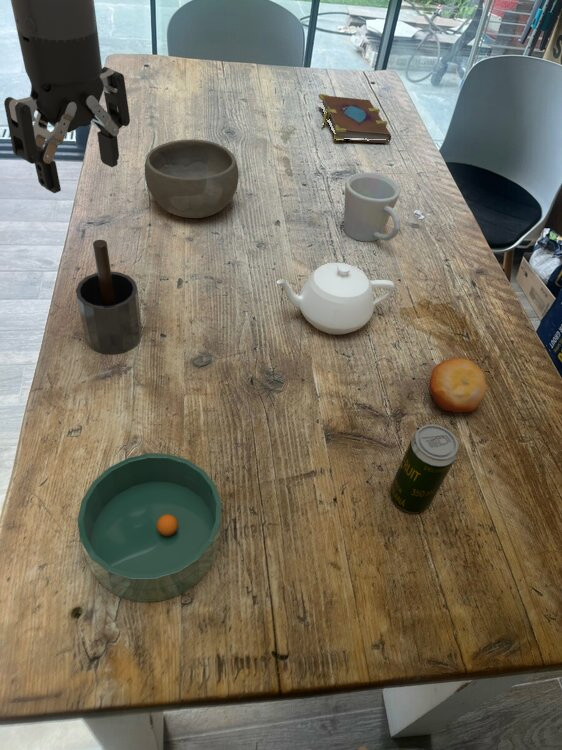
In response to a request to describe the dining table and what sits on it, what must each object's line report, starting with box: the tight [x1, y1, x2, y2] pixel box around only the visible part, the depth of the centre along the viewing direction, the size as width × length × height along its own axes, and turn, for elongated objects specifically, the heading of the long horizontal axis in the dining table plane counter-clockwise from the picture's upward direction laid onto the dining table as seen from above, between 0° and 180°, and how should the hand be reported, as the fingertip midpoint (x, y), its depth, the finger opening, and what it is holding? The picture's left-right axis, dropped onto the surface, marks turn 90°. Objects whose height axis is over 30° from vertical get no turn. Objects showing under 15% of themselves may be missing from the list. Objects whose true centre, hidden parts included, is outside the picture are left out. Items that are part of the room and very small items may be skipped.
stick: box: [92, 239, 116, 306], centre depth 83 cm, size 2×2×16 cm
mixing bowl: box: [76, 453, 222, 603], centre depth 65 cm, size 15×15×6 cm
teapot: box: [276, 261, 396, 335], centre depth 94 cm, size 20×12×10 cm, turn 100°
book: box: [318, 93, 392, 144], centre depth 149 cm, size 16×25×5 cm, turn 9°
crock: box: [75, 270, 143, 355], centre depth 86 cm, size 8×8×9 cm
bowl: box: [144, 139, 240, 219], centre depth 113 cm, size 17×18×10 cm
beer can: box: [389, 423, 459, 514], centre depth 70 cm, size 5×5×12 cm
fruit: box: [428, 357, 488, 413], centre depth 85 cm, size 8×8×8 cm
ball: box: [157, 514, 178, 536], centre depth 67 cm, size 2×2×2 cm
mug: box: [343, 171, 401, 243], centre depth 111 cm, size 10×15×10 cm
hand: (81, 176), depth 68 cm, fingers open, 8 cm apart
